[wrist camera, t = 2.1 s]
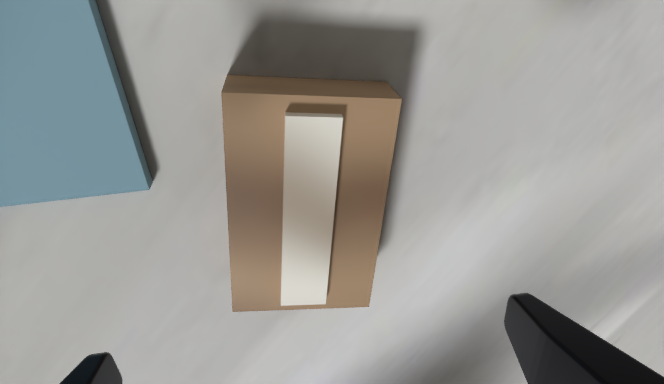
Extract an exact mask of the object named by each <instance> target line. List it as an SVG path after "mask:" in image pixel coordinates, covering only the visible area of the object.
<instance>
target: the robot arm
mask: <svg viewBox="0 0 664 384" xmlns="http://www.w3.org/2000/svg"><path fill="white" fill-rule="evenodd" d="M504 324H505V329H506V332H507V334H508V336H509V339H510V341H511V344H512V346H513V349H514V351H515V353H516V356H517V358H518V361H519V363H520V366H521V368H522V370H523V373H524V375H525V378H526V380H527V382H528V384H664V377H663V376H661V375H660V374H658V373H657V372H655V371H653V370H652V369H650V368H648V367H647V366H645V365H644V364H642V363H640V362H639V361H637V360H636V359H634V358H632V357H631V356H629V355H628V354H626V353H624V352H623V351H621V350H619V349H618V348H616V347H615V346H613V345H611V344H610V343H608V342H607V341H605V340H603V339H602V338H600V337H599V336H597V335H595V334H594V333H592V332H590V331H589V330H587V329H586V328H584V327H582V326H581V325H579V324H578V323H576V322H574V321H573V320H571V319H570V318H568V317H566V316H565V315H563V314H561V313H560V312H558V311H557V310H555V309H553V308H552V307H550V306H549V305H547V304H545V303H544V302H542V301H541V300H539V299H537V298H536V297H534V296H532V295H531V294H528V293H520V294H513V295H511V296H510V297H509V298H508V303H507V308H506V313H505V319H504ZM60 384H122V377H121V374H120V372H119V370H118V368H117V366H116V363H115V361H114V359H113V357H112V355H111V354H110V353H108V352H104V353H97V354H91V355H89V356H87V357H86V358H85V359H84V360H83V361H82V362H81V363H80V364H79V365H78V366H77V367H76V368H75V369H74V370H73V371H72V372H71V373H70V374H69V375H68V376H67V377H66V378H65V379H64V380H63V381H62V382H61V383H60Z"/></svg>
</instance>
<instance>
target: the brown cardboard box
mask: <svg viewBox="0 0 664 384" xmlns="http://www.w3.org/2000/svg"><path fill="white" fill-rule="evenodd" d="M401 102H402V99H401V97H400V96H399V95H398V94H397V93H396V92H395V90H394V89H393V88H392V87H391V86H390V85H389V83H388V82H383V81H360V80H337V79H314V78H291V77H268V76H245V75H227V77H226V80H225V83H224V86H223V89H222V111H223V131H224V151H225V171H226V191H227V210H228V230H229V250H230V270H231V290H232V309H233V312H239V311H266V310H294V309H321V308H349V307H369V303H370V297H371V290H372V284H373V278H374V272H375V265H376V259H377V253H378V246H379V240H380V234H381V228H382V221H383V215H384V209H385V202H386V196H387V190H388V184H389V177H390V171H391V165H392V158H393V152H394V146H395V140H396V133H397V127H398V121H399V114H400V108H401Z"/></svg>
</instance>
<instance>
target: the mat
mask: <svg viewBox="0 0 664 384" xmlns="http://www.w3.org/2000/svg"><path fill="white" fill-rule="evenodd" d="M152 183H153V182H152V178H151V175H150V172H149V169H148V166H147V163H146V159H145V156H144V153H143V150H142V147H141V143H140V140H139V137H138V134H137V131H136V128H135V124H134V121H133V118H132V115H131V112H130V108H129V105H128V102H127V99H126V96H125V93H124V89H123V86H122V83H121V80H120V77H119V73H118V70H117V67H116V64H115V61H114V58H113V54H112V51H111V48H110V45H109V42H108V38H107V35H106V32H105V29H104V26H103V23H102V19H101V16H100V13H99V10H98V7H97V3H96V0H0V207H3V206H12V205H21V204H30V203H38V202H47V201H56V200H64V199H73V198H82V197H91V196H99V195H108V194H117V193H125V192H134V191H143V190H149V189H150V187H151V185H152Z"/></svg>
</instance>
